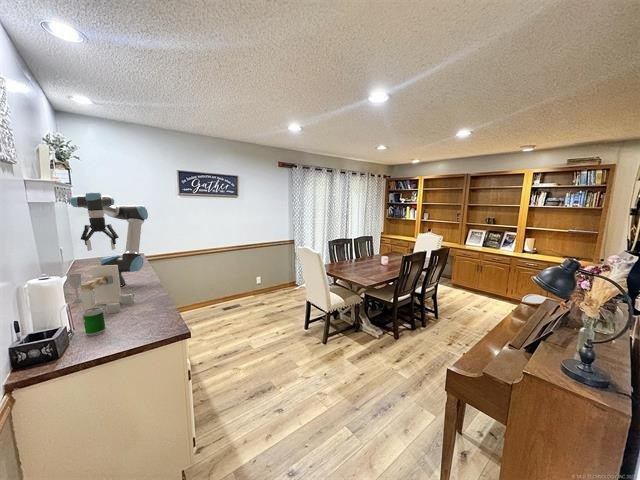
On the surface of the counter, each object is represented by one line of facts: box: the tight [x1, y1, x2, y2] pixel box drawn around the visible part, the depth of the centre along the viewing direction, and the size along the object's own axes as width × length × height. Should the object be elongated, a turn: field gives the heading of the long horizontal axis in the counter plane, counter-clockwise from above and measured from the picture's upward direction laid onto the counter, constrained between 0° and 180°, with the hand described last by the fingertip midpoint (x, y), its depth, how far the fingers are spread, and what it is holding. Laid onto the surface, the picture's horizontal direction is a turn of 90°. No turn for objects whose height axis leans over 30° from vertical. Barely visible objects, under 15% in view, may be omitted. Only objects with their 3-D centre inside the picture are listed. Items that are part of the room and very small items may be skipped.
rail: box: [79, 276, 108, 292], centre depth 157 cm, size 18×4×4 cm, turn 10°
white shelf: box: [80, 265, 122, 313], centre depth 159 cm, size 20×14×24 cm
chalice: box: [66, 272, 83, 304], centre depth 170 cm, size 7×7×18 cm
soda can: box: [82, 306, 106, 337], centre depth 129 cm, size 8×8×12 cm
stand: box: [105, 293, 135, 314], centre depth 161 cm, size 18×6×5 cm, turn 10°
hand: (101, 249), depth 171 cm, fingers open, 13 cm apart
